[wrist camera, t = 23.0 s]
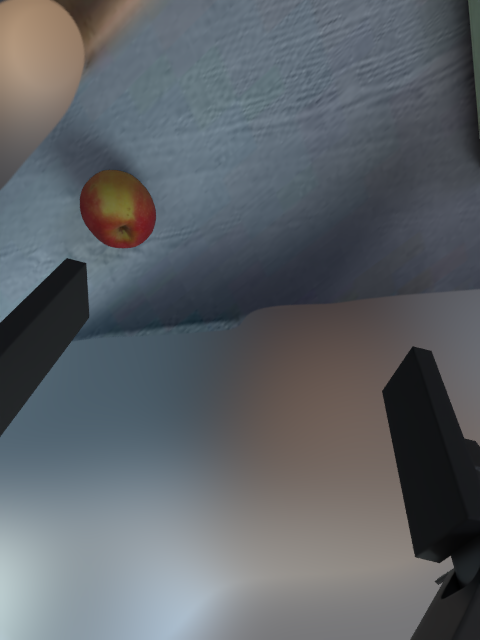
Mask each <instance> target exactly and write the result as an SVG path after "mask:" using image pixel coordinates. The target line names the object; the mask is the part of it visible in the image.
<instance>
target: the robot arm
mask: <svg viewBox="0 0 480 640" xmlns="http://www.w3.org/2000/svg"><path fill="white" fill-rule="evenodd" d="M88 318H89V303H88V286H87V269H86V263H84V262H80V261H76V260H72V259H68V258H67V259H66V260H64V261H63V262H62V263H61V264H60V265H59V266H58V267H57V268H56V269H55V270H54V271H53V272H52V273H51V274H50V275H49V276H48V277H47V278H46V279H45V280H44V281H43V282H42V283H41V284H40V285H39V286H38V287H37V288H36V289H35V290H34V291H33V292H32V293H31V294H29V295H28V296H27V297H26V298H25V299H24V300H23V301H22V302H21V303H20V304H19V305H18V306H17V307H16V308H15V309H14V310H13V311H12V312H11V313H10V314H9V315H8V316H7V317H6V318H5V319H4V320H3V321H2V322H1V323H0V436H1V435H2V434H3V432H4V431H5V429H6V428H7V427H8V426H9V424H10V423H11V421H12V420H13V419H14V418H15V416H16V415H17V414H18V412H19V411H20V410H21V408H22V407H23V405H24V404H25V403H26V401H27V400H28V399H29V397H30V396H31V394H32V393H33V392H34V391H35V389H36V388H37V386H38V385H39V384H40V383H41V381H42V380H43V378H44V377H45V376H46V375H47V373H48V372H49V371H50V369H51V368H52V367H53V365H54V364H55V363H56V361H57V360H58V358H59V357H60V356H61V355H62V353H63V352H64V351H65V349H66V348H67V347H68V345H69V344H70V343H71V341H72V340H73V338H74V337H75V336H76V334H77V333H78V332H79V330H80V329H81V328H82V326H83V325H84V324H85V322H86V321H87V320H88ZM382 393H383V398H384V403H385V408H386V413H387V418H388V423H389V428H390V433H391V438H392V443H393V448H394V453H395V458H396V463H397V468H398V473H399V478H400V483H401V488H402V493H403V498H404V503H405V508H406V514H407V518H408V523H409V528H410V534H411V538H412V544H413V549H414V554H415V557H417V558H421V559H425V560H429V561H433V562H437V563H440V562H442V561H443V560H445V559H446V558H448V557H449V556H451V558H452V562H453V565H454V569H452V570H450V571H449V572H447V573H446V574H444V575H443V576H441V577H440V578H438V579H437V580H436V581H435V582H436V583H437V584H438V585H439V584H440V583H442V582H443V583H442V585H441V587H440V589H439V591H438V592H437V594H436V596H435V597H434V599H433V601H432V603H431V604H430V606H429V608H428V610H427V611H426V613H425V615H424V617H423V619H422V620H421V622H420V624H419V626H418V627H417V629H416V631H415V632H414V634H413V636H412V638H411V640H480V446H479V445H478V444H477V443H476V441H472V440H468V439H464V437H463V434H462V431H461V429H460V426H459V424H458V421H457V418H456V415H455V413H454V410H453V407H452V405H451V402H450V399H449V397H448V394H447V391H446V389H445V386H444V383H443V381H442V378H441V375H440V373H439V370H438V368H437V365H436V362H435V359H434V357H433V354H432V351H429V350H425V349H421V348H417V347H412V348H411V350H410V351H409V353H408V354H407V355H406V357H405V358H404V360H403V361H402V363H401V364H400V366H399V367H398V369H397V370H396V372H395V373H394V375H393V376H392V377H391V379H390V381H389V382H388V383H387V385H386V387H385V388H384V389H383V391H382Z"/></svg>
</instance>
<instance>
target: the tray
mask: <svg viewBox="0 0 480 640" xmlns="http://www.w3.org/2000/svg"><path fill="white" fill-rule="evenodd" d="M468 5H469V17H470V29H471V41H472V53H473V65H474V77H475V89H476V101H477V113H478V125H479V137H480V0H468Z"/></svg>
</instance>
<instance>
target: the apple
mask: <svg viewBox="0 0 480 640" xmlns="http://www.w3.org/2000/svg"><path fill="white" fill-rule="evenodd" d="M80 211H81V215H82V218H83V220H84V222H85V224H86V226H87V227H88V229H89V230H90V231H91V232H92V233H93V235H94V236H95V237H96V238H97V239H98V240H100V241H101V242H102V243H104V244H106V245H108V246H111V247H115V248H132V247H136V246H138V245H140V244H141V243H143V242H144V241H145V240H146V239H147V238H148V237H149V236H150V234H151V233H152V231H153V229H154V226H155V220H156V210H155V206H154V203H153V200H152V198H151V196H150V194H149V192H148V191H147V189H146V188H145V187H144V186H143V185H142V184H141V182H140V181H139V180H138V179H136V178H135V177H134V176H132V175H131V174H128V173H126V172H122V171H118V170H104V171H101V172H99V173H97V174H95V175H94V176H93V177H92V178H90V179H89V180H88V182H87V183H86V184H85V185H84V187H83V189H82V192H81V196H80Z"/></svg>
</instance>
